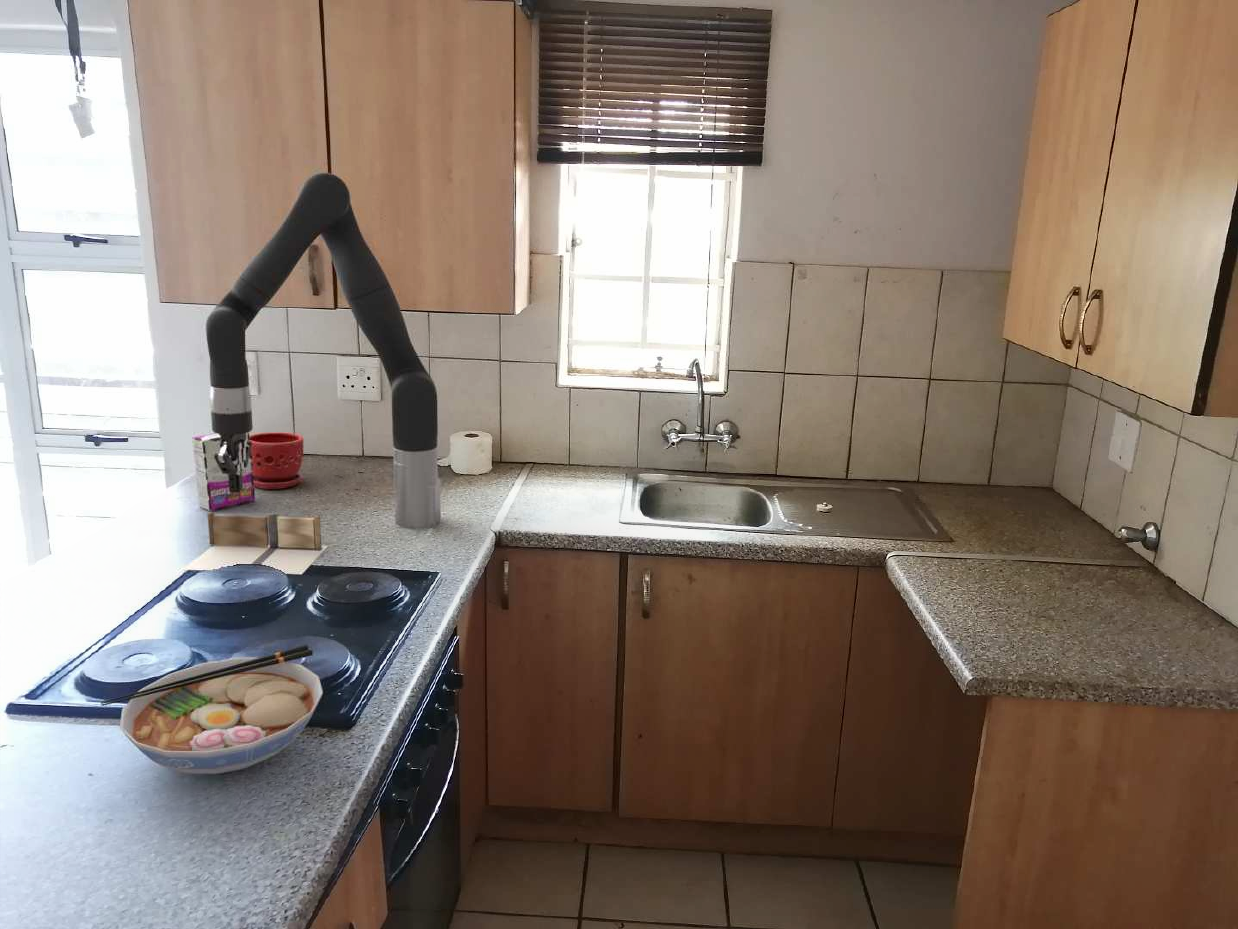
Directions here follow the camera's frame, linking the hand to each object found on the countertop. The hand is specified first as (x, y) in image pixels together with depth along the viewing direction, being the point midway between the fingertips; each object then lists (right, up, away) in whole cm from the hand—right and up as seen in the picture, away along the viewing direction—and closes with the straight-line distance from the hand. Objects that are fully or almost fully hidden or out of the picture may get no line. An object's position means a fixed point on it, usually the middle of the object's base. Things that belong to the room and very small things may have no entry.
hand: (236, 491), depth 186 cm
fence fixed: (+14, -11, -5) cm, 19 cm away
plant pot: (-6, 0, +37) cm, 38 cm away
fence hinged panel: (+3, -10, -6) cm, 12 cm away
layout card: (+9, -13, -11) cm, 19 cm away
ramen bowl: (+30, -31, -73) cm, 85 cm away
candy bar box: (-11, -4, +21) cm, 24 cm away
